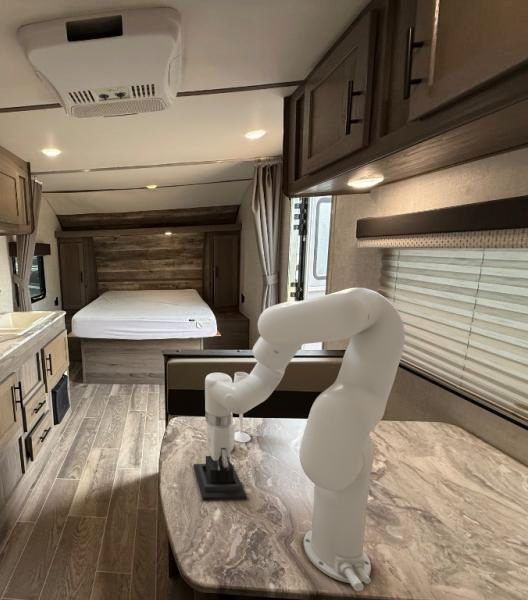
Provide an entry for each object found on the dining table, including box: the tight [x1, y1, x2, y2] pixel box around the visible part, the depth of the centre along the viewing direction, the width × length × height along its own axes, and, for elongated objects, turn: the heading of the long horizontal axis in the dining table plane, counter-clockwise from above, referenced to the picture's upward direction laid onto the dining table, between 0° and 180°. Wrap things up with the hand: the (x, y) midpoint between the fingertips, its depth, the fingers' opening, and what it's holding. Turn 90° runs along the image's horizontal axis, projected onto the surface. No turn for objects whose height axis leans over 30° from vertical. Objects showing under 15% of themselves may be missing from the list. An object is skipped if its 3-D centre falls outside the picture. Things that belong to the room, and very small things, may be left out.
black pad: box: [205, 455, 234, 483], centre depth 96 cm, size 6×6×4 cm
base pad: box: [193, 462, 247, 501], centre depth 97 cm, size 14×12×2 cm
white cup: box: [229, 417, 236, 452], centre depth 113 cm, size 8×8×10 cm
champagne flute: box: [233, 371, 252, 443], centre depth 118 cm, size 7×7×24 cm
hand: (219, 472), depth 96 cm, fingers closed on black pad, 6 cm apart
